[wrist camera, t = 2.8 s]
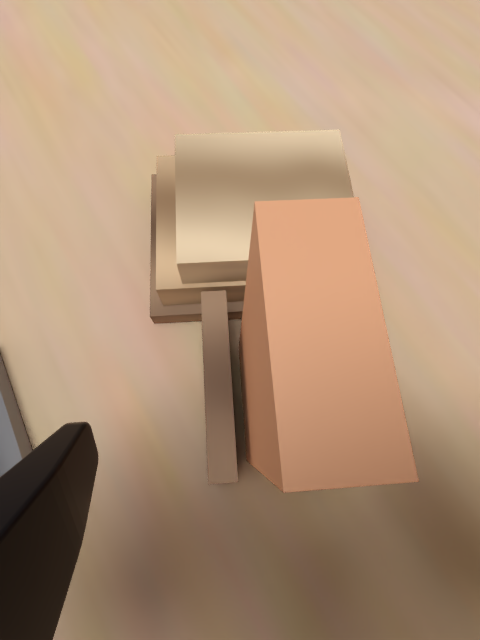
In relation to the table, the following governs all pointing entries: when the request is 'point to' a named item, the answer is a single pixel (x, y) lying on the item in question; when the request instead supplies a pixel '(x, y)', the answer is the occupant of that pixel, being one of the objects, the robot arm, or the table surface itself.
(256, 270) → the tall peach slab
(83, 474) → the robot arm
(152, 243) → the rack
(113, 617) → the table surface
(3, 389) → the holder
